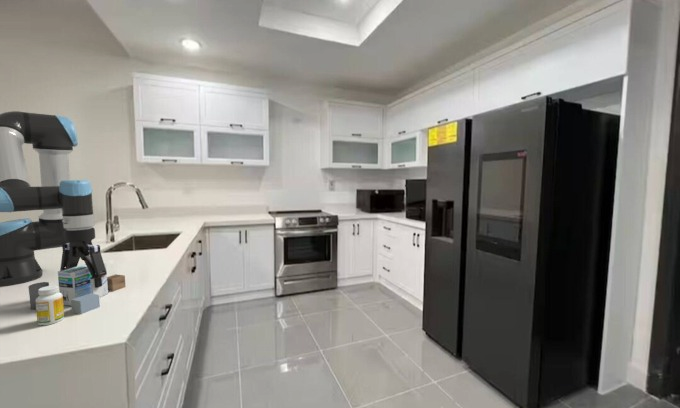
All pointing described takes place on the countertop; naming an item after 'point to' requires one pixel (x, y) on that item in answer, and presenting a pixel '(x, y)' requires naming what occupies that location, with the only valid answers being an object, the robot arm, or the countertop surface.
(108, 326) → the countertop surface
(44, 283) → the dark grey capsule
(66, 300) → the light bulb box
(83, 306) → the slate-blue block
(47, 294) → the supplement bottle
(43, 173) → the robot arm
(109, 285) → the walnut block
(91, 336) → the countertop surface
